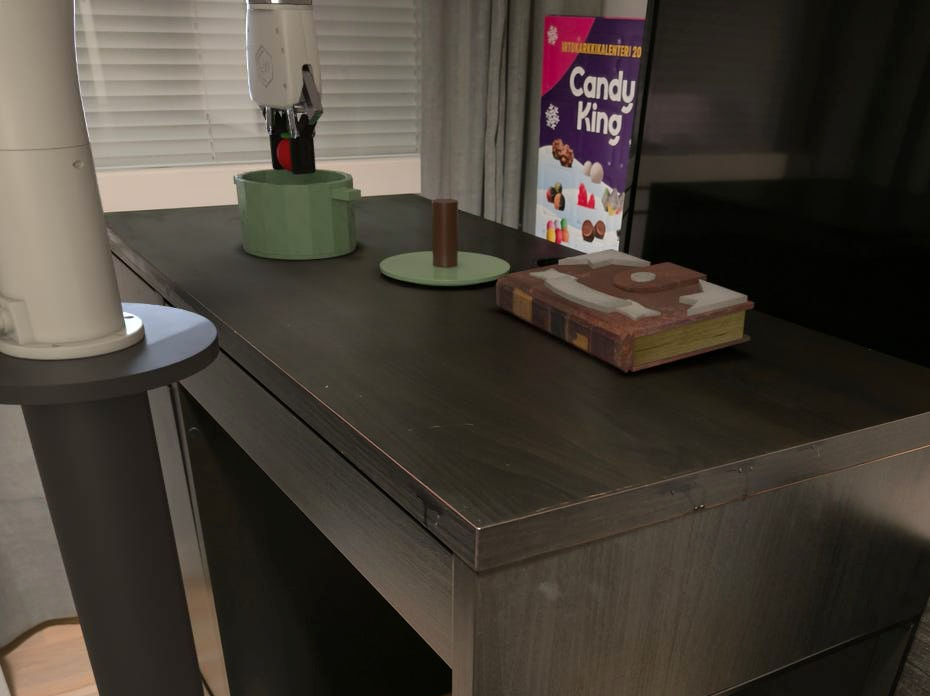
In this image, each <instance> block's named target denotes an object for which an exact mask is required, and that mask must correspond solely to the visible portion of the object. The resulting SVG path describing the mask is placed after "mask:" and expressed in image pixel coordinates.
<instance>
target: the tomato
mask: <svg viewBox="0 0 930 696" xmlns="http://www.w3.org/2000/svg"><path fill="white" fill-rule="evenodd" d="M288 129H289V133H281V137H282V138H284V139H283V140H282V141H281V142H280V143H279V145H278V148H277V157H278V160H279V163H280V164H281V166H282V167H283V168H284V169H286V170H287V171H290V172H292V170H291V159H290V148H289V138H293V137H292V134H291V128H290V124H289V125H288Z"/></svg>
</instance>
